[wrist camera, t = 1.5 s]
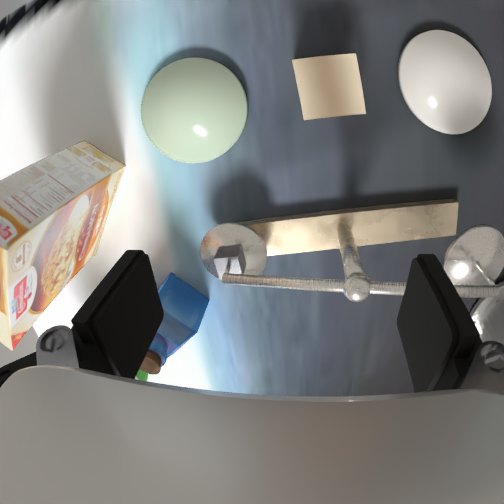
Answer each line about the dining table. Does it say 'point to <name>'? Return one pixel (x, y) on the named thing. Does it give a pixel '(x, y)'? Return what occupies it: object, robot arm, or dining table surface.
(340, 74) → the birch block
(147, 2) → the dining table surface
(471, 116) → the white dish
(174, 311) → the perfume bottle
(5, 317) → the coffeecake box
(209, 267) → the balance scale
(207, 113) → the sage dish
